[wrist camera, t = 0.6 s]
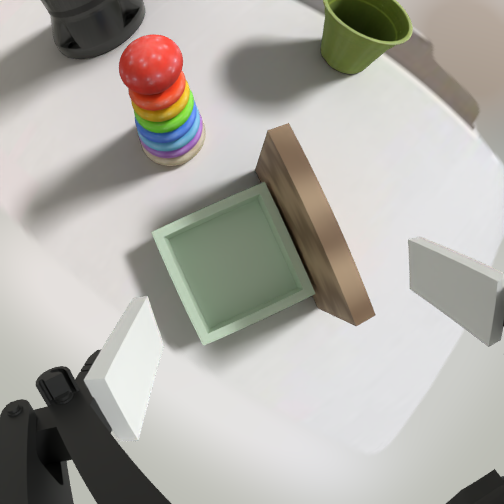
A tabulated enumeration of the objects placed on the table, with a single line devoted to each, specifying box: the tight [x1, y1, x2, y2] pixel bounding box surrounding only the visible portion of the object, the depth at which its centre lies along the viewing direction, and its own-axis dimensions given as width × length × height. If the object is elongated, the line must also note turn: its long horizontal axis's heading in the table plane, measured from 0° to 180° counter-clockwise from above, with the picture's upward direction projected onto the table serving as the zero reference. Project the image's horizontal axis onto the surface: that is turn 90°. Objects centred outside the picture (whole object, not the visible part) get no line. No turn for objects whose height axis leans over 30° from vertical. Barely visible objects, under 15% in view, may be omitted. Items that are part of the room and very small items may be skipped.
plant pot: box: [321, 0, 412, 74], centre depth 34 cm, size 12×12×11 cm
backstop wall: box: [255, 123, 375, 326], centre depth 32 cm, size 18×2×12 cm, turn 25°
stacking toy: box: [119, 35, 205, 166], centre depth 28 cm, size 8×8×19 cm
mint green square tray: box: [151, 182, 315, 346], centre depth 35 cm, size 13×13×4 cm
